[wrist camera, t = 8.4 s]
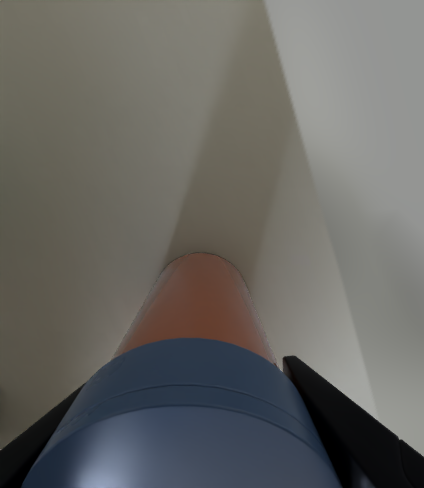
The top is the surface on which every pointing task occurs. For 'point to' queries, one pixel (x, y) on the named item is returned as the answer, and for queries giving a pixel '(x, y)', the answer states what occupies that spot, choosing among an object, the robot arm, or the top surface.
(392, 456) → the robot arm
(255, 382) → the jar lid
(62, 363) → the top surface
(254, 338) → the jar
